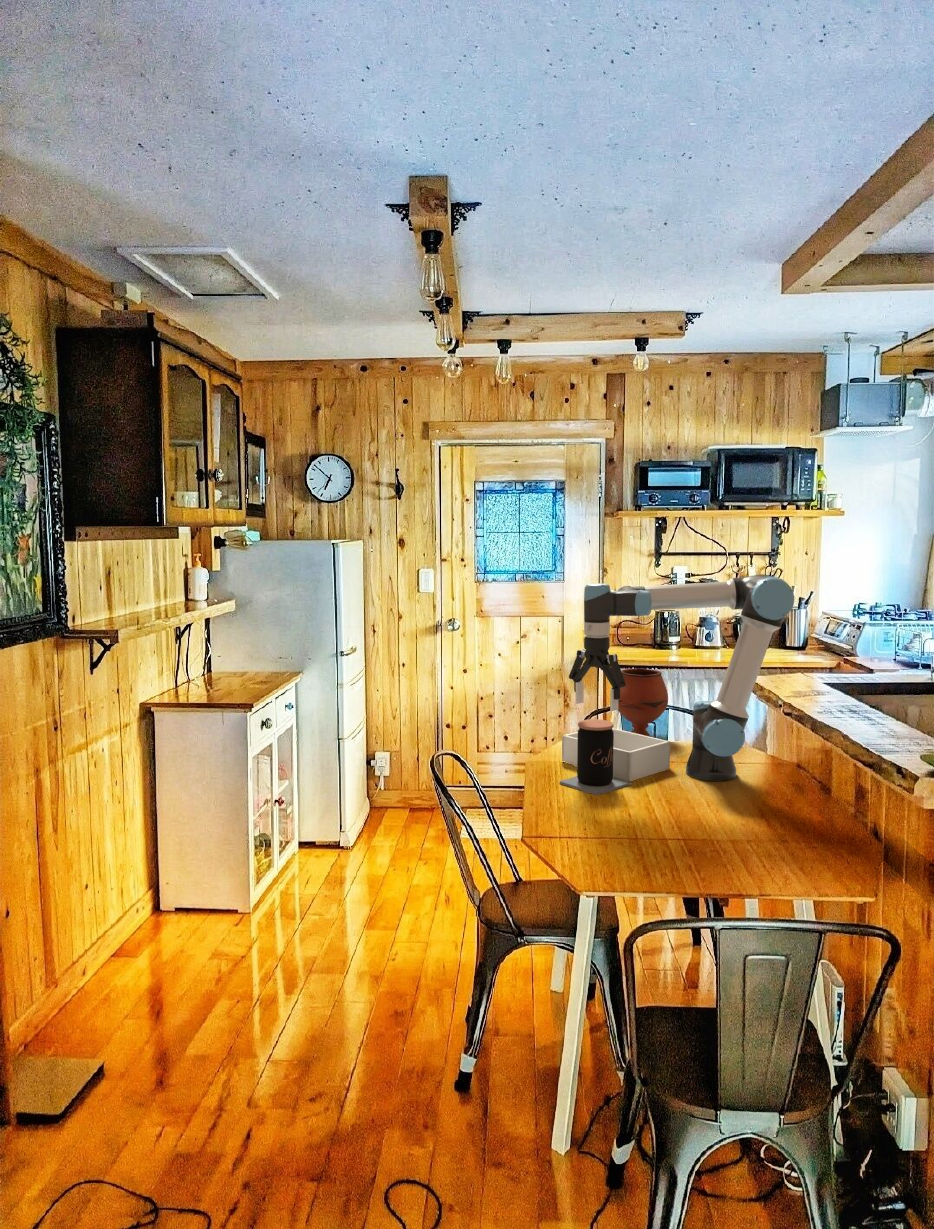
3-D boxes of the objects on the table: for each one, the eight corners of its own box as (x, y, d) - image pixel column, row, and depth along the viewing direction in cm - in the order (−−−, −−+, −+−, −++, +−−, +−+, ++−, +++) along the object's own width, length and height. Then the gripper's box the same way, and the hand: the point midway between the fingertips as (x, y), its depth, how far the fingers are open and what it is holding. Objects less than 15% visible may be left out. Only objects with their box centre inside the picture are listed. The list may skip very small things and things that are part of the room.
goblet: (676, 744, 310) (678, 674, 307) (625, 747, 306) (626, 677, 303) (653, 731, 329) (654, 665, 326) (605, 734, 325) (606, 667, 322)
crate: (669, 769, 280) (670, 741, 279) (629, 781, 267) (629, 752, 266) (602, 751, 301) (602, 725, 300) (561, 762, 288) (562, 735, 287)
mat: (630, 785, 264) (630, 782, 263) (597, 795, 254) (597, 792, 254) (592, 774, 275) (592, 771, 275) (559, 783, 265) (559, 781, 265)
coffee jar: (590, 789, 257) (591, 729, 255) (570, 779, 267) (570, 721, 265) (620, 784, 262) (621, 724, 260) (598, 774, 271) (599, 717, 269)
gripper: (557, 633, 266) (557, 702, 269) (621, 641, 247) (621, 715, 250) (574, 631, 271) (574, 698, 274) (638, 638, 252) (637, 711, 255)
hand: (596, 706), depth 262 cm, fingers open, 13 cm apart
